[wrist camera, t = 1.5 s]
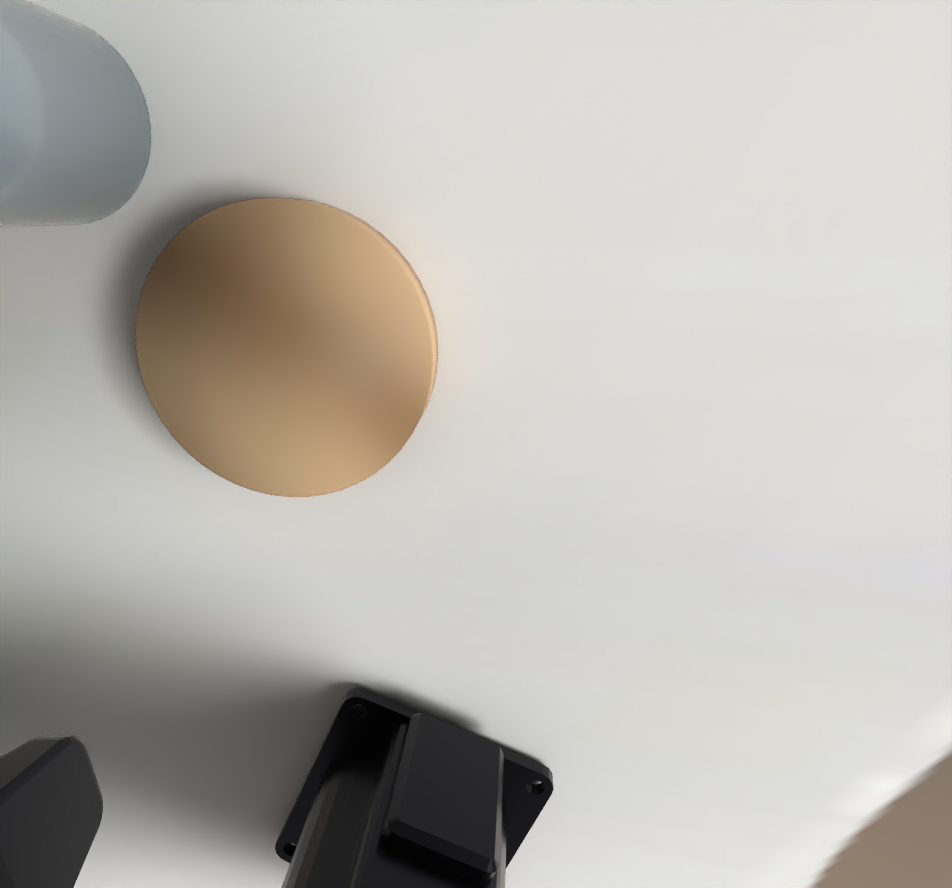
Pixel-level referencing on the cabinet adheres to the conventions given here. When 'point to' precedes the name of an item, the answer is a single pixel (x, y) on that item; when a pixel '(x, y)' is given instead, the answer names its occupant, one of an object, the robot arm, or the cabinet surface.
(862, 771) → the cabinet surface
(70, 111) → the grey rounded cylinder
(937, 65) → the cabinet surface
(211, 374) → the tan round disc
